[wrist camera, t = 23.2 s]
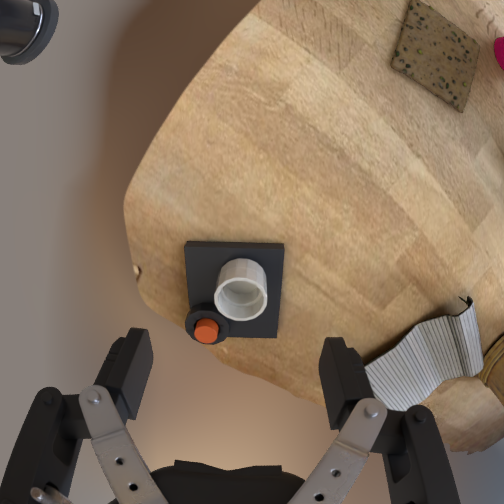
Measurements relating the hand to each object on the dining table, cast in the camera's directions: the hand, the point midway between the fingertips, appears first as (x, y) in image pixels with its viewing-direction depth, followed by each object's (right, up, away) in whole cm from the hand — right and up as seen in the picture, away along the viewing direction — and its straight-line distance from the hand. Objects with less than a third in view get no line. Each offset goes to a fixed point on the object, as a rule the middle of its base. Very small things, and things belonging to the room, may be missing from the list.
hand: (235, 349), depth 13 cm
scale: (-2, -1, +27) cm, 27 cm away
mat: (+33, -16, +34) cm, 50 cm away
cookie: (+24, +29, +12) cm, 40 cm away
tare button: (-5, -6, +26) cm, 27 cm away
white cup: (0, +1, +24) cm, 25 cm away
